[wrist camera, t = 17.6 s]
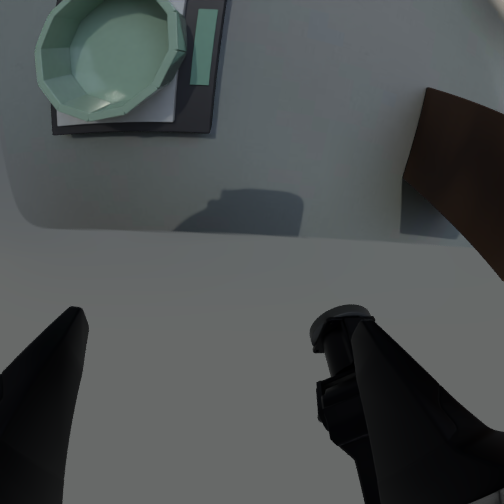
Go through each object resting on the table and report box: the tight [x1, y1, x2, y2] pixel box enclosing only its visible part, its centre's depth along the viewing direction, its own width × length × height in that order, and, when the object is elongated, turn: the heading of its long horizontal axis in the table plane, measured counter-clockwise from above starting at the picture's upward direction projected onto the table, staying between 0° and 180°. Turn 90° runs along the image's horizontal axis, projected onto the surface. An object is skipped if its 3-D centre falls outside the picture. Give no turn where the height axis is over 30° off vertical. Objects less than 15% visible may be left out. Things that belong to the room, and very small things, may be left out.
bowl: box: [35, 0, 187, 122], centre depth 10 cm, size 7×7×4 cm
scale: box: [51, 0, 227, 135], centre depth 13 cm, size 10×10×3 cm
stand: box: [403, 87, 504, 281], centre depth 14 cm, size 8×8×12 cm
